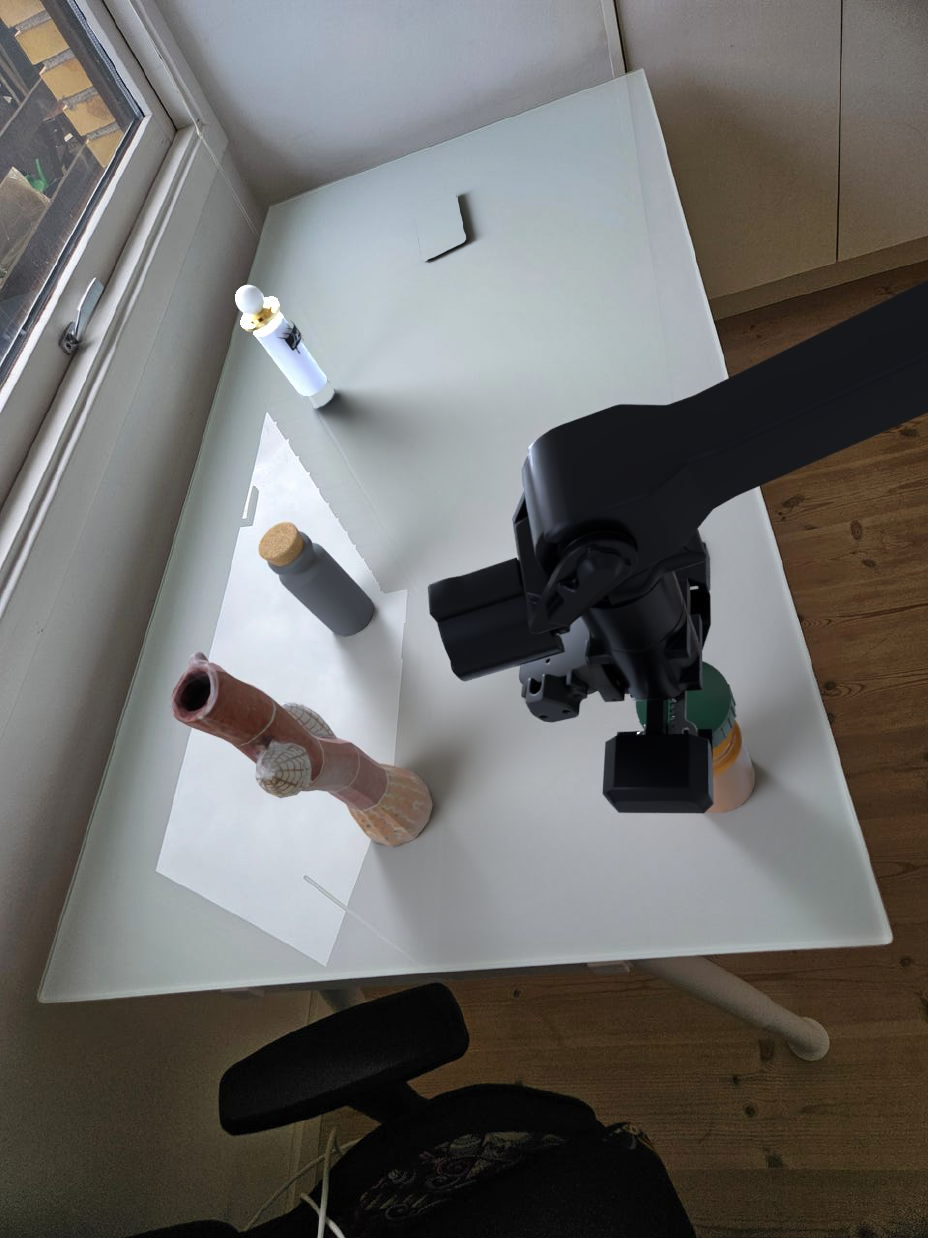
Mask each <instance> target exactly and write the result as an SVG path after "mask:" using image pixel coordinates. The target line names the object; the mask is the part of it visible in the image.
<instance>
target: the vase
mask: <svg viewBox="0 0 928 1238" xmlns="http://www.w3.org/2000/svg"><path fill="white" fill-rule="evenodd" d="M169 707H170V710H171V713H172V716H173V717H174V718H175V719H176V720H177V721H178V722H180V723H182V724H184V725H186V726H187V727H190V728H192V729H195V730H198V731H200V732H203V733H206V734H209V735H211V736H213V737H216V738H219V739H221V740H224V741H226V742H228V743H229V744H231V745H232V746H233V747H235V748H236V749H237V750H239V751H240V752H241V753H242V754H243V755H244V756H245V757H247V758H248V759H250V761H252V762H253V763H254V764H255V780H256V782H257V784H258V785H259V787H260V788H261V789H262V790H263V791H265V792H266V793H267V794H269V795H272V796H275V797H276V798H279V799H284V798H289V797H293V796H298V794H299V793H301V792H308V793H309V792H314V791H320V792H327V793H328V794H329V795H331V796H332V797H334V798H336V799H337V800H339V801H341V802H342V803H344V804H345V805H346V808H347V810H348V812H349V814H350V816H351V817H352V818H353V820H354V821H355V823H356V824H357V825H358V826H359V828H360V829H361V831H362V832H363V833H364V834H365V836H366V837H367V838H369V839H370V840H371V841H372V842H373V843H374V844H376V845H379V846H384V847H385V846H386V847H389V848H396V847H399V846H401V845H403V844H404V845H405V844H406V843H408V842H410V841H413V840H415V839H416V838H417V837H418V836H419V835H420V833H421V832H422V831H423V829H424V828H425V827H426V826H427V824H428V823H429V821H430V818H431V815H432V810H433V806H434V804H433V800H432V797H431V793H430V790H429V787H428V786H427V785H426V783H425V782H424V781H423V779H422V778H421V777H420V776H418V775H417V774H416V773H415V772H413V771H411V770H408V769H405V768H403V767H399V766H395V765H391V764H387V763H380V762H378V761H376V760H375V759H373V758H372V757H371V756H369V755H368V754H367V753H366V752H364V751H363V749H361V748H360V747H358V746H357V745H356V744H355V743H353V742H351V741H348V740H345V739H342V738H339V737H337V736H336V734H335V733H334V731H333V730H332V728H331V727H330V725H329V724H328V723H327V722H326V721H325V720H324V718H323V717H322V716H321V715H320V714H319V713H317V712H316V711H315V710H313V709H312V708H310V707H308V706H306V705H305V704H302V703H298V702H292V701H287V702H282V703H280V704H279V702H277V701H276V700H275V699H274V698H273V697H271V696H270V695H269V694H268V693H266V692H265V691H264V690H262V689H260V688H258V687H257V686H255V685H253V684H250V683H248V682H245V681H243V680H240V679H239V678H236V677H234V676H233V675H232V674H230V673H228V671H226V670H225V669H224V668H223V667H222V666H221V665H219V664H217V663H214V662H210V661H209V659H208V658H207V656H206V655H205V654H204V652H202V651H197V652H194V653H192V654H191V655H190V656H189V661H188V665H187V668H186V670H185V671H184V672H183V674H182V675H181V677H180V678H179V680H178V681H177V683H176V684H175V686H174V688H173V690H172V694H171V697H170V701H169Z"/></svg>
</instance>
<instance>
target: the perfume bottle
mask: <svg viewBox="0 0 928 1238" xmlns="http://www.w3.org/2000/svg"><path fill="white" fill-rule="evenodd" d="M235 293H236V294H235V304H236V307H237V308H238V309H239V311H240V312H241V313H242V314H243V315H242V317H241V320H240V325H241V327H242V328H243V329H244V331H246V332H248V333H252V332H253V335H254V337H256V339H257V340H258V342H259V343H260V345H262V347H263V348H264V350H265V351H266V352H267V353H268V354H269V356H270V357H271V358H272V360H273V361H274V363H275V364H276V365H277V367H278V368H279V369H280V370H281V372H282V373H283V374H284V376H285V377H286V379H288V380H289V382H290V383H291V385H292V386H293V387H294V389H295V390H296V391H297V392H298V394H299V395H300V394H301V395H303V396H311V395H314V394H315V393H317V392H319V391H320V390H321V389H322V388H323V387H324V385H325V384H326V382H327V378H328V377H327V375H326V374H325V373H324V371H323V369H321V367H320V366H319V364H318V363H317V361H316V360H315V358H314V357H313V355H312V354H311V353H310V351H309V350H308V349H307V347H306V346H305V344H304V343H303V342H305V339H304V338H303V335H302V333H301V332H300V330H299V329H298V326H297V325H296V324H295V323H294V322H293V320H290V322H291V324H292V326H293V327H292V326H291V325H290V324H289V322H288V321H287V320H286V318H285V317H284V315H283V314H282V313H281V312H280V311H281V304H280V301H278V298H276V297H274V296H269V297H265V296H264V294H263V292H262V291H261V289H259V288H258V287H257V286H255V285H251V284H246V285H243V286H240V287H239V288H238V290H237V291H236V292H235ZM302 341H303V342H302ZM326 377H327V378H326ZM301 395H300V396H301Z"/></svg>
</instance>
